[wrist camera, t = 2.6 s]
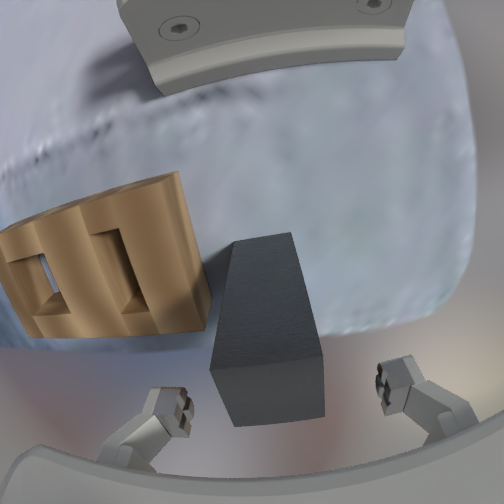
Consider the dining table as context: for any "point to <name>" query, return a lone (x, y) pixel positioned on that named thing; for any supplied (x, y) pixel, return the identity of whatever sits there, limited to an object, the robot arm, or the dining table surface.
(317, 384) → the steel peg
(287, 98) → the dining table surface
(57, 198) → the dining table surface
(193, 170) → the dining table surface
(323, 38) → the grey piece
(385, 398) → the robot arm
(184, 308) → the socket block
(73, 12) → the dining table surface
